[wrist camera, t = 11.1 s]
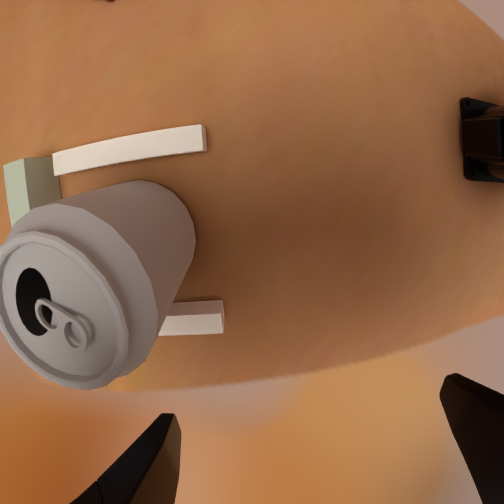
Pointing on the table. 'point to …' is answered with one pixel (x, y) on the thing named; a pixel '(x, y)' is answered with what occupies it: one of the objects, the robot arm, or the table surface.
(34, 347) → the can
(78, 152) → the set of pale bars
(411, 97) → the table surface
